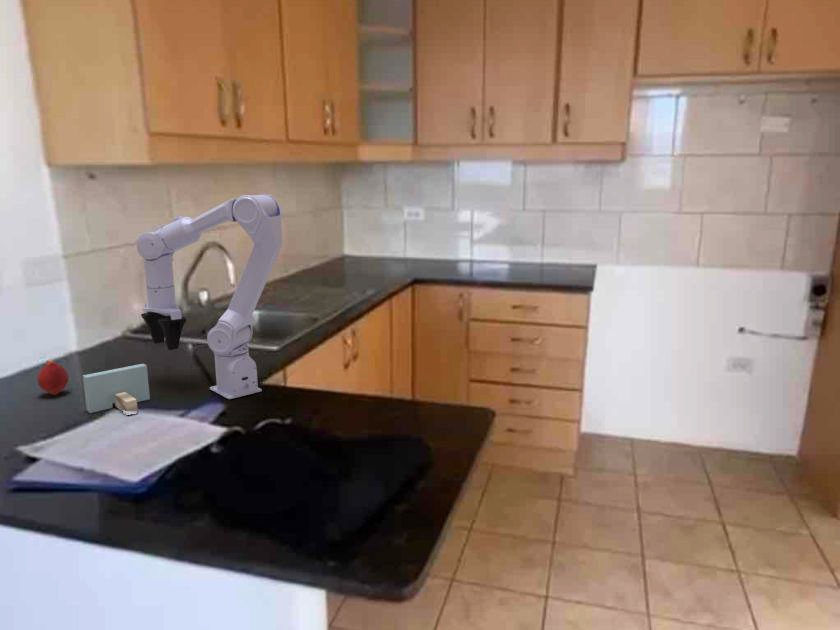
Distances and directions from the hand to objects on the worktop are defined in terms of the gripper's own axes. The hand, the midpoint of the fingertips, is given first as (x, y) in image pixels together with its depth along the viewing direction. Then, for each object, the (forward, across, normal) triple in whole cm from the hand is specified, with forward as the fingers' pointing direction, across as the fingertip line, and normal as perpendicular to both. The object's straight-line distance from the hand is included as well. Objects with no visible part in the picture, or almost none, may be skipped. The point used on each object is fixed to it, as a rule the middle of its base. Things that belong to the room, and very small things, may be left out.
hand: (166, 345), depth 144 cm
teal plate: (+9, +5, -13) cm, 17 cm away
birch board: (+9, +5, -13) cm, 17 cm away
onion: (+10, -12, -20) cm, 25 cm away
